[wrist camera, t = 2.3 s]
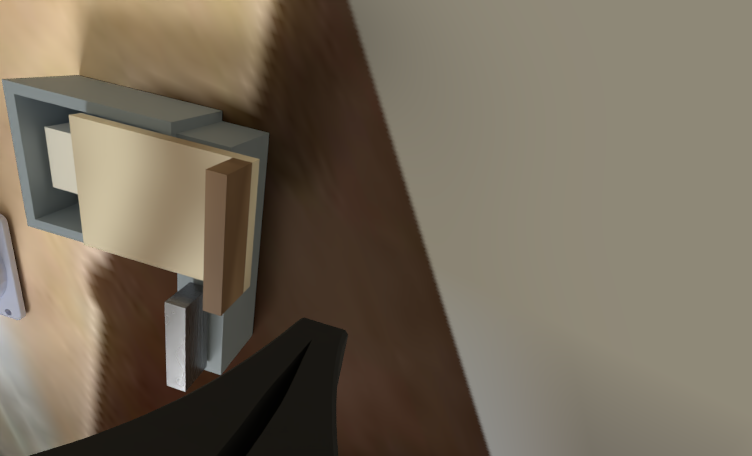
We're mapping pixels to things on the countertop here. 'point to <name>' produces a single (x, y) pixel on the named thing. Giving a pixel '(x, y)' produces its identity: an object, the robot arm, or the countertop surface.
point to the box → (146, 111)
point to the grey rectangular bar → (185, 336)
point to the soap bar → (61, 157)
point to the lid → (167, 204)
